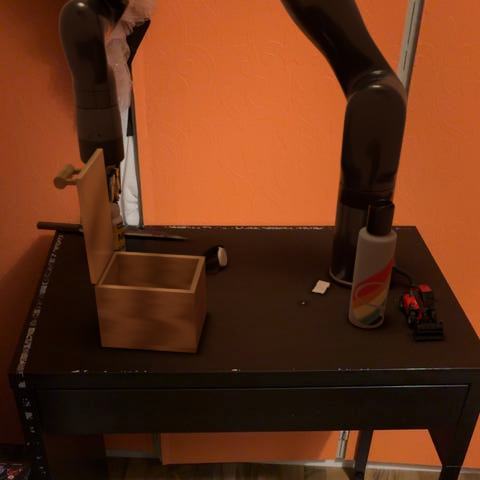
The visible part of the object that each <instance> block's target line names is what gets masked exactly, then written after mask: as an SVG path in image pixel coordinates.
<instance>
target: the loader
mask: <svg viewBox="0 0 480 480" xmlns="http://www.w3.org/2000/svg"><path fill="white" fill-rule="evenodd" d="M412 285H415V284H412ZM419 285H420V286H419V291H418V289H417V288H412V287H409V291H405V290H403V292H402V293H403V295H401V296H400V298H399V308H400V311H404V312H405V314H406V316H407V325H408V327H412V335H413V337H414V339H415V341H418V340H419V341H420V340H422V341H425V340H443V339H444V325H443V324H444V320H442V319H441V320H440V322H439V323H438V315H437V311H436V307H435V303H437V302H438V298H437V297H435V294H434V292H433V290H432V289H431V287H430V286H429V285H427V284H419ZM419 321H420V322H421V324H419Z"/></svg>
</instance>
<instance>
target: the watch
mask: <svg viewBox="0 0 480 480" xmlns="http://www.w3.org/2000/svg"><path fill="white" fill-rule="evenodd" d="M216 255H217V258H216V259H214V261H211V262H207V261H208V260H209V259H211V258H212V257H214V256H216ZM200 256H203V257H205V272H213V271H215V270H217V269H219V268H220V267H225V266H227V262H228V256H227V251H226V248H225V246H224V245H223V244H216V245H213V246H211V247H209V248H207V249H206V250H205V251H203V252H202V254H201V255H200Z"/></svg>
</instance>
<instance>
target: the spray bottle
mask: <svg viewBox="0 0 480 480" xmlns="http://www.w3.org/2000/svg"><path fill="white" fill-rule="evenodd" d="M395 210H396V205H395V203H394V201H393V202H392V201H390V200H388V199H379V200H375V201H373V202H371V203H370V204H369V209H368V217H367V225H366V227H364V228H362V229H361V230H360V232H359V237H358V244H357V252H356V260H355V268H354V276H353V284H352V288H351V293H350V301H349V310H348V321H349V322H350V324H352V325H354V326H355V327H357V328H361V329H375V328H378V327H380V326H381V325H382V324H383V322H384V319H385V313H386V308H387V302H388V295H389V290H390V284H391V282H390V277H391V271H392V265H393V259H394V256H395V253H396V245H397V239H398V238H397V237H398V236H397V232H396V231H395V230H393V223H394V218H395V217H394V216H395Z"/></svg>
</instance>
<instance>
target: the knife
mask: <svg viewBox="0 0 480 480" xmlns="http://www.w3.org/2000/svg"><path fill="white" fill-rule="evenodd" d="M36 229H37V230H41V231H42V230H44V231H59V232H71V233H72V232H73V233H80V234H84V231H83V225H82V221H81V222H80V223H72V222H71V223H69V222H54V221H41V220H40V221H37V222H36ZM125 235H126V236H137V237H138V236H139V237H154V238H168V239H182V240H183V239H185V240H188V238H187V237H184V236H180V235H177V234H173V233H169V232H165V231H155V230H153V231H152V230H143V229H142V230H141V229H140V228H135V227H124V236H125Z"/></svg>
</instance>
